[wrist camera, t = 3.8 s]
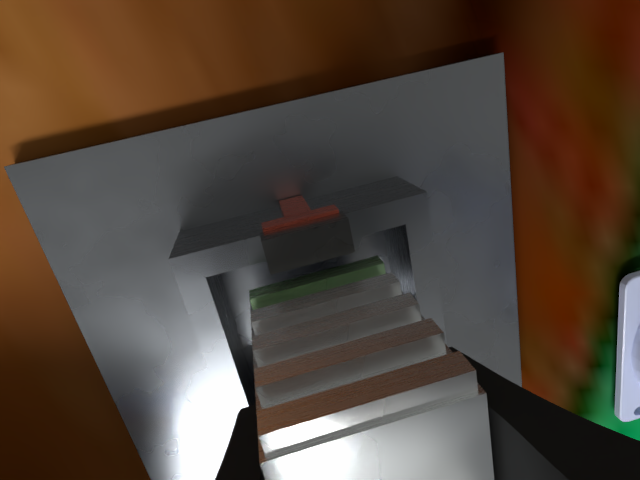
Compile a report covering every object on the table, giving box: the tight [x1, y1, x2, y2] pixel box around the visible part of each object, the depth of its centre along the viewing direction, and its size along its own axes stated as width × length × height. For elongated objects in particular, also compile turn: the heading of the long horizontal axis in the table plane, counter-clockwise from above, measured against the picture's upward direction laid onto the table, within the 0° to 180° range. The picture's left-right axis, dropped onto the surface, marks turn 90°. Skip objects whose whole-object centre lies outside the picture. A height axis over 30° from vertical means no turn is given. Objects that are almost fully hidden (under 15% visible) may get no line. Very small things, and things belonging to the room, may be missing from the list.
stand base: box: [4, 53, 522, 480], centre depth 15 cm, size 16×14×4 cm
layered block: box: [249, 255, 494, 480], centre depth 11 cm, size 4×4×6 cm
